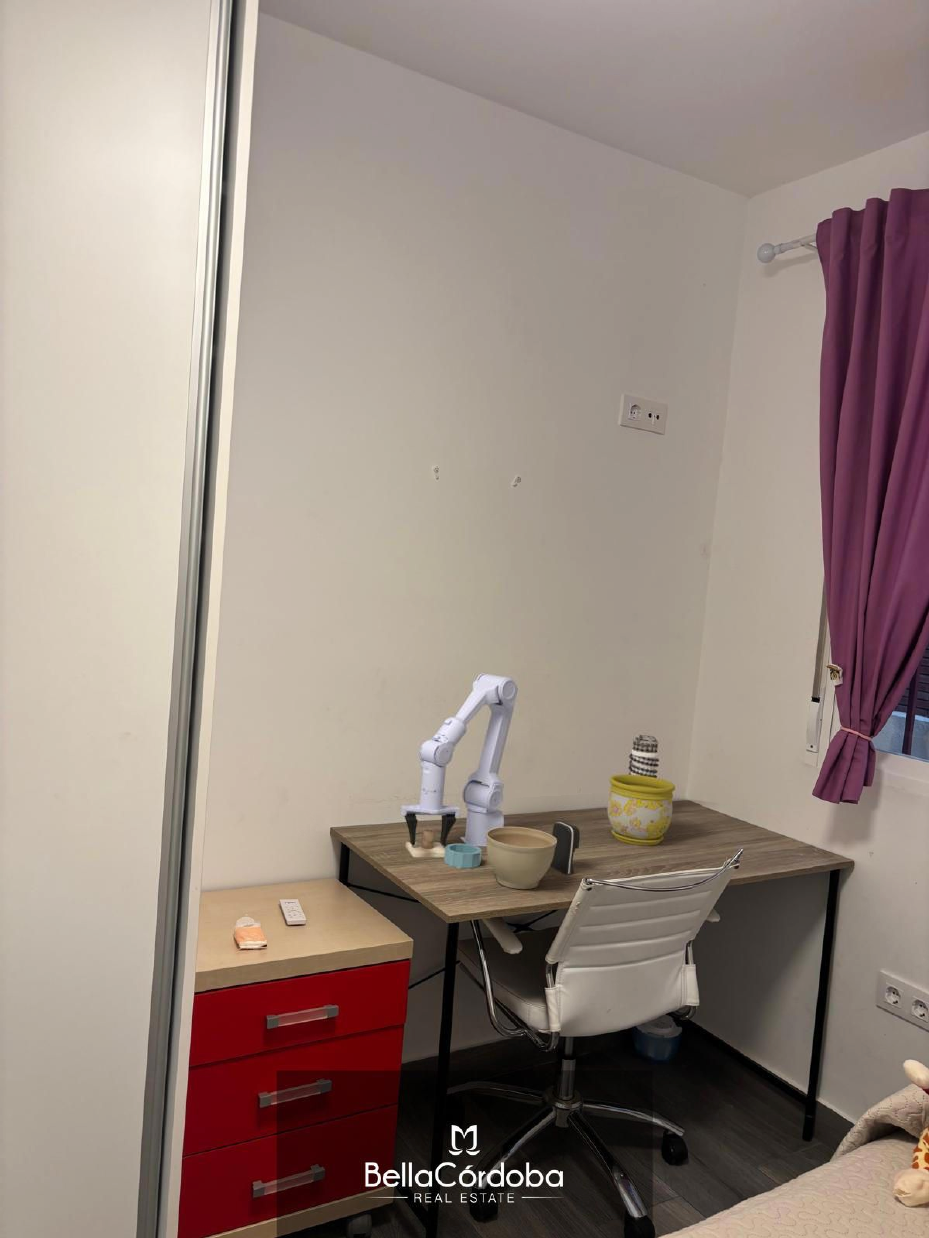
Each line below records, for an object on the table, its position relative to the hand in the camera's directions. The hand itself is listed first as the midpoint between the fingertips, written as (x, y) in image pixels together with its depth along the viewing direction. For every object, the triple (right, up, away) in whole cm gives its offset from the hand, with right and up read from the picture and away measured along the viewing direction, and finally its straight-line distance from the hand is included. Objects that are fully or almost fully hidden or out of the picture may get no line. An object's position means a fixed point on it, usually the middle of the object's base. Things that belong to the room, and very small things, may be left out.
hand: (427, 843), depth 230 cm
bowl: (+9, -3, -7) cm, 11 cm away
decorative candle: (+63, -6, +59) cm, 86 cm away
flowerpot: (+57, -6, +31) cm, 66 cm away
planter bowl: (+21, -5, -17) cm, 27 cm away
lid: (0, -2, 0) cm, 2 cm away
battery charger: (+33, -6, -4) cm, 34 cm away
